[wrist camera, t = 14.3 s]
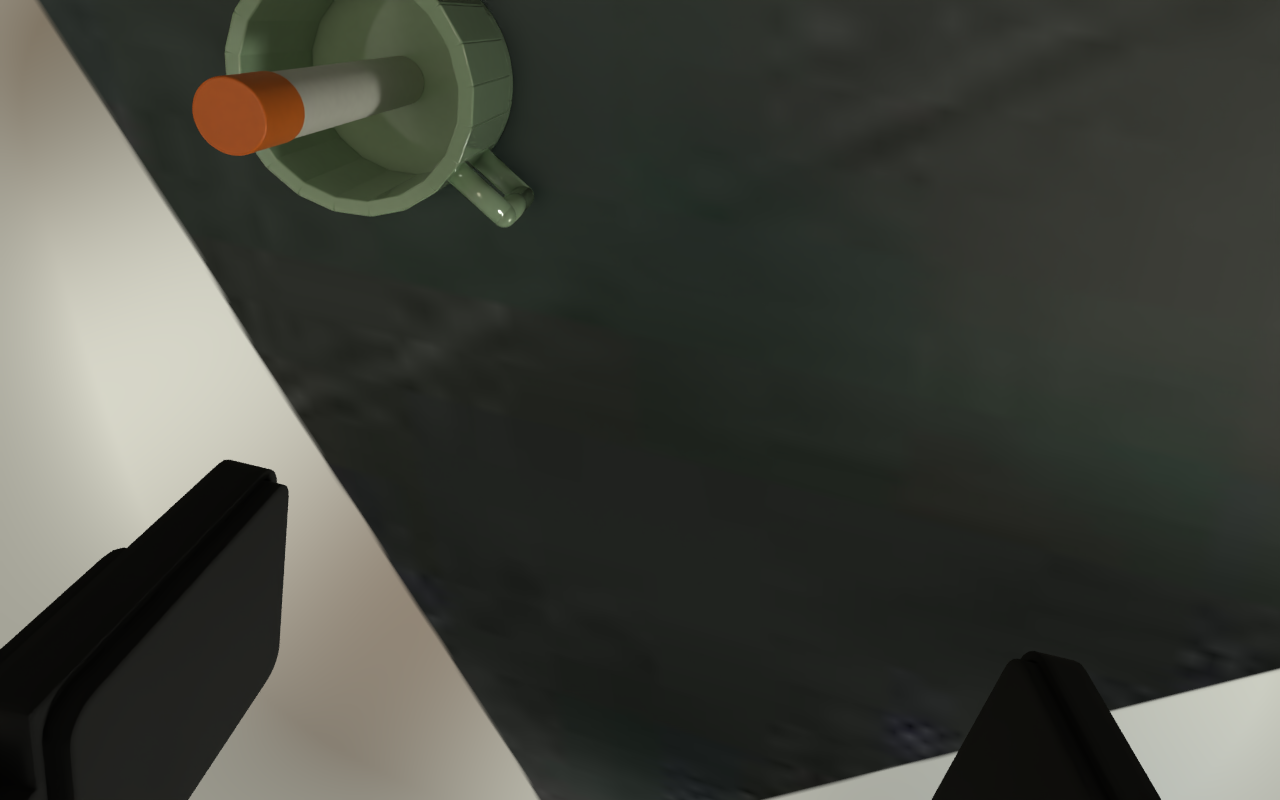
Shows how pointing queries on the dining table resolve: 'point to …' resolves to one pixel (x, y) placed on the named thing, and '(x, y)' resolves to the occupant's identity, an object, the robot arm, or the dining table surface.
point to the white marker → (299, 101)
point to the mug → (403, 137)
